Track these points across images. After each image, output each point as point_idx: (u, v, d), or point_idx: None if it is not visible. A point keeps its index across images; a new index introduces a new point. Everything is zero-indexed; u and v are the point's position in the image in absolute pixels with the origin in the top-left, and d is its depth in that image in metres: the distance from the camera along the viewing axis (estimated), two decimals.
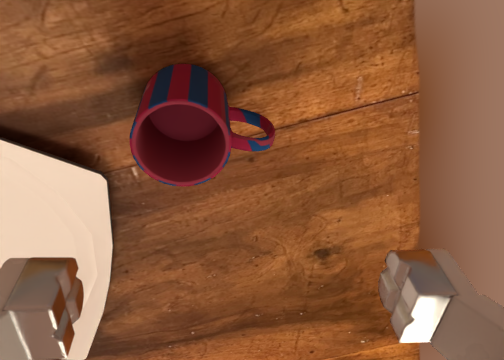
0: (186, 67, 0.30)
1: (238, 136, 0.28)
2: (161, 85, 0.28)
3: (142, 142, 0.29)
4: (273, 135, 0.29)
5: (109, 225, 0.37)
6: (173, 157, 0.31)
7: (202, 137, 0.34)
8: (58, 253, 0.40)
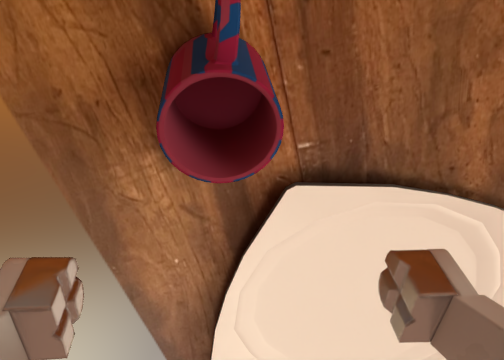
0: None
1: (216, 52, 0.20)
2: None
3: (232, 158, 0.25)
4: None
5: (362, 187, 0.31)
6: (264, 120, 0.25)
7: None
8: (394, 231, 0.36)
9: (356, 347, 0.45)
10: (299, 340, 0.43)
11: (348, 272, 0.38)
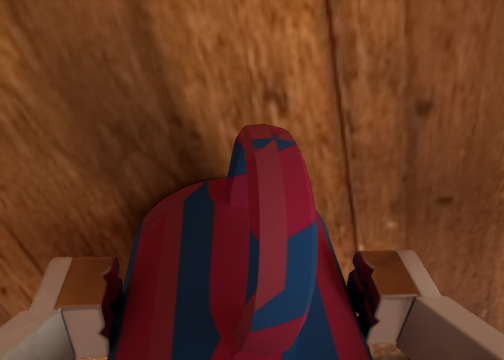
0: None
1: (239, 337, 0.07)
2: None
3: None
4: (262, 193, 0.06)
5: None
6: None
7: None
8: None
9: None
10: None
11: None
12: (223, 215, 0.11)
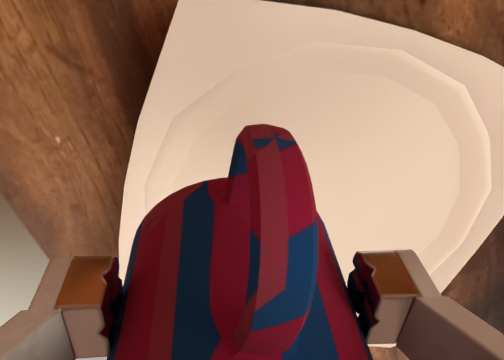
0: None
1: (240, 337, 0.07)
2: None
3: None
4: (263, 193, 0.06)
5: (291, 6, 0.22)
6: None
7: None
8: (347, 99, 0.27)
9: None
10: None
11: None
12: (223, 215, 0.11)
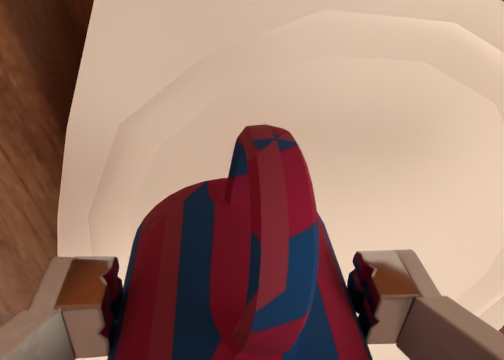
0: None
1: (240, 338, 0.07)
2: None
3: None
4: (263, 194, 0.06)
5: None
6: None
7: None
8: (372, 96, 0.19)
9: None
10: None
11: None
12: (223, 215, 0.11)
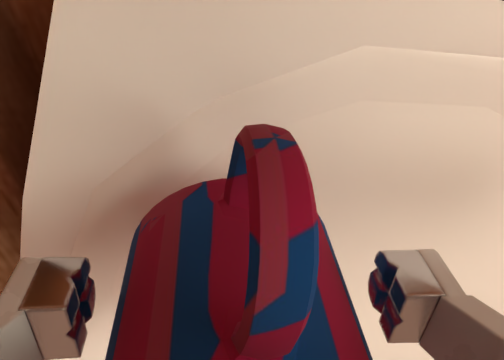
0: None
1: (239, 341, 0.07)
2: None
3: None
4: (262, 194, 0.06)
5: None
6: None
7: None
8: (417, 148, 0.15)
9: None
10: None
11: None
12: (222, 216, 0.11)
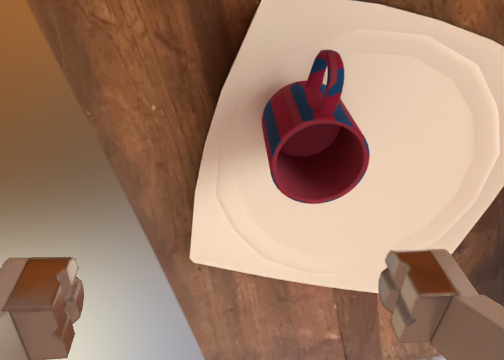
0: (262, 121, 0.32)
1: (322, 104, 0.26)
2: None
3: (319, 183, 0.31)
4: (330, 60, 0.25)
5: (345, 1, 0.29)
6: (346, 152, 0.31)
7: None
8: (383, 75, 0.33)
9: (346, 233, 0.43)
10: (286, 219, 0.41)
11: None
12: (307, 89, 0.29)
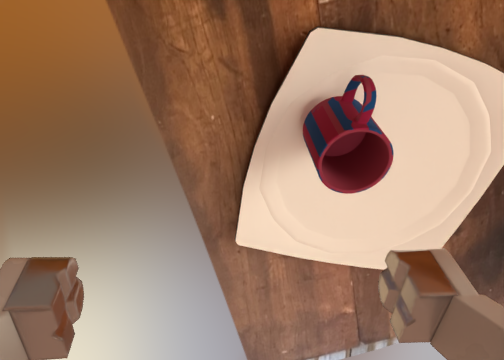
0: (304, 128, 0.40)
1: (358, 117, 0.34)
2: None
3: (351, 177, 0.39)
4: (365, 84, 0.33)
5: (372, 35, 0.37)
6: (372, 153, 0.39)
7: None
8: (399, 90, 0.42)
9: (364, 219, 0.51)
10: (314, 208, 0.49)
11: None
12: (342, 103, 0.38)
